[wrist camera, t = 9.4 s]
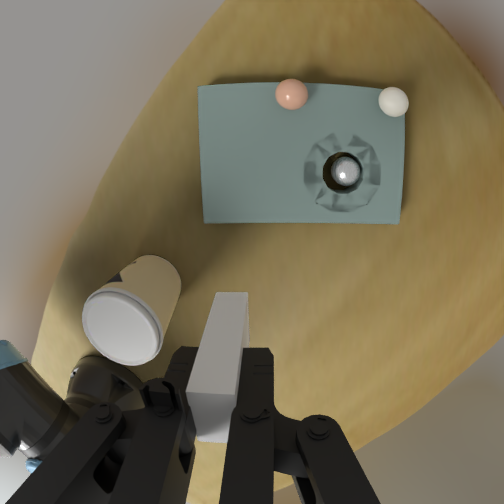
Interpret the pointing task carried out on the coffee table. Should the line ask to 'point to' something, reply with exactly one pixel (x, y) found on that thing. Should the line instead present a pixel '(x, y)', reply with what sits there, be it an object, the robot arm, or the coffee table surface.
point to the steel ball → (345, 171)
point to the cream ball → (393, 101)
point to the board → (297, 155)
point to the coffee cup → (133, 311)
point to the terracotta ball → (291, 94)
